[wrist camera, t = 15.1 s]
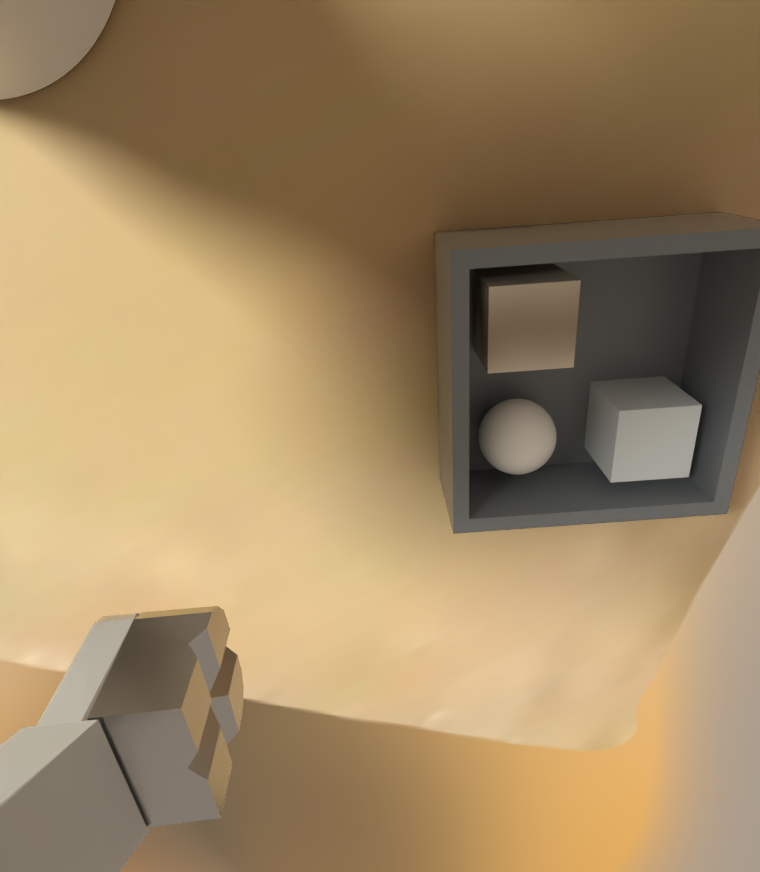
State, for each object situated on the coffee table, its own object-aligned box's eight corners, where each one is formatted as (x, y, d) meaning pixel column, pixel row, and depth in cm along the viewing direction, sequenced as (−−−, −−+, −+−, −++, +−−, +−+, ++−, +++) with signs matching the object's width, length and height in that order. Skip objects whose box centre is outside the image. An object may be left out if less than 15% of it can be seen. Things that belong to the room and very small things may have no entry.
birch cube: (473, 269, 30) (488, 286, 26) (553, 263, 30) (580, 280, 26) (472, 347, 31) (487, 373, 28) (548, 341, 31) (573, 367, 28)
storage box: (434, 232, 29) (449, 250, 24) (719, 212, 29) (792, 225, 24) (440, 479, 36) (453, 533, 31) (675, 462, 36) (726, 513, 31)
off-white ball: (472, 389, 32) (486, 420, 29) (546, 384, 32) (569, 414, 29) (472, 454, 34) (485, 491, 31) (542, 450, 34) (563, 486, 31)
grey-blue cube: (590, 381, 32) (619, 411, 29) (664, 376, 32) (702, 405, 29) (584, 447, 34) (610, 482, 31) (654, 441, 34) (688, 477, 31)
